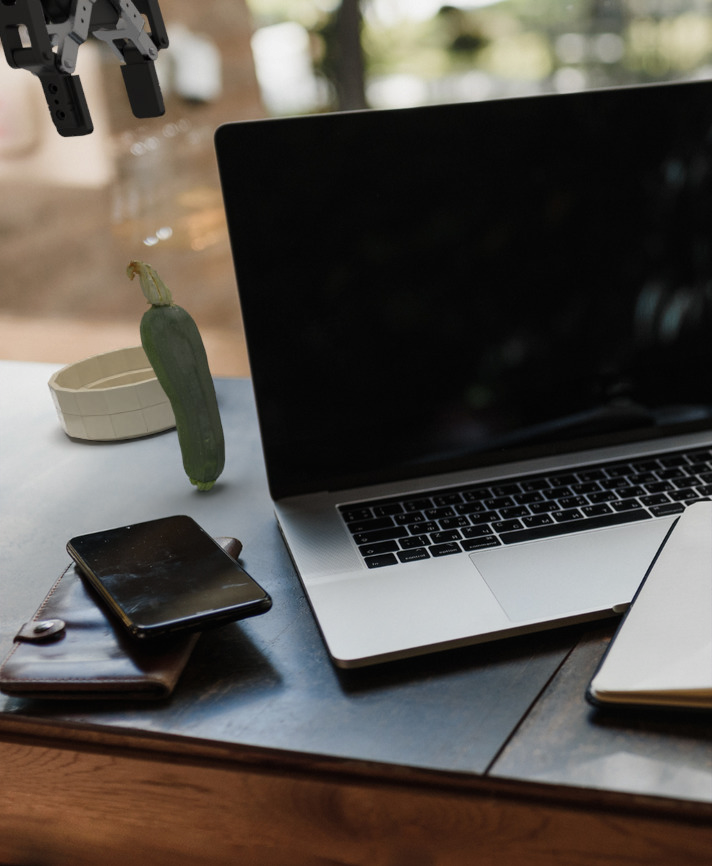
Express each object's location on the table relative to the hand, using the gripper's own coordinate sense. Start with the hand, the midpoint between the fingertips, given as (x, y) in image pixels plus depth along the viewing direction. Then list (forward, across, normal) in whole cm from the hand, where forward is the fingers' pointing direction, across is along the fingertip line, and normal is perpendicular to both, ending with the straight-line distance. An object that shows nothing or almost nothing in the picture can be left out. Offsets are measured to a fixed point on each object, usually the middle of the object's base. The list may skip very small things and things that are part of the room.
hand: (115, 126), depth 74 cm
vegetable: (+30, -4, -3) cm, 31 cm away
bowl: (+30, -22, -20) cm, 42 cm away
